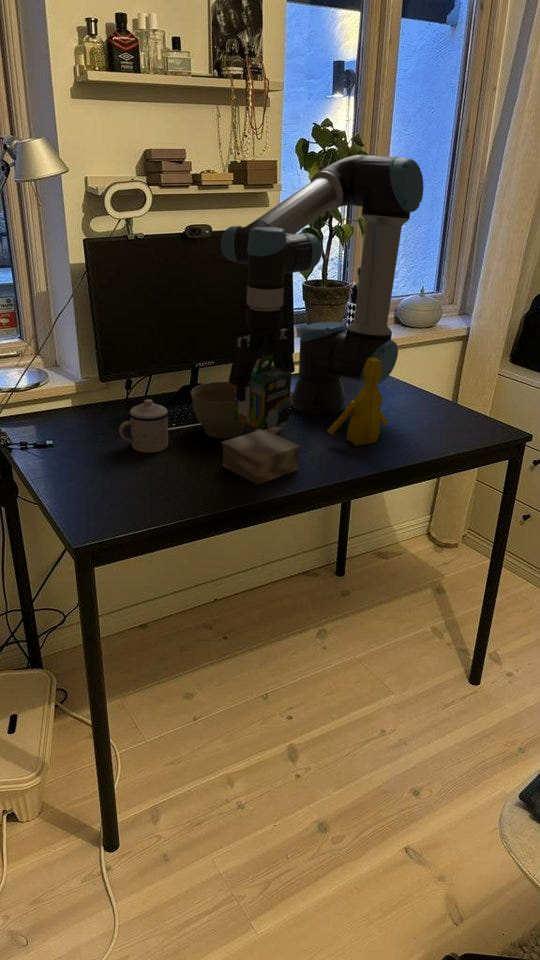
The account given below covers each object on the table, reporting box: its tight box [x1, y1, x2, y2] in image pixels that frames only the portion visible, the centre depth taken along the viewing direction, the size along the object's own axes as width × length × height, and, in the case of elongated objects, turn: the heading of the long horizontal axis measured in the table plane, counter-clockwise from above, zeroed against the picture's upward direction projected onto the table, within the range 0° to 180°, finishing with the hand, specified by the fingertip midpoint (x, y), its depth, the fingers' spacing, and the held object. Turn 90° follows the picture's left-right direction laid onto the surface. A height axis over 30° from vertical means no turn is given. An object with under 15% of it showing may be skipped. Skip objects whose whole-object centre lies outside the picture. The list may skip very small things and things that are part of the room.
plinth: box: [220, 430, 302, 485], centre depth 164 cm, size 13×13×6 cm
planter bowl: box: [190, 381, 248, 439], centre depth 182 cm, size 16×16×11 cm
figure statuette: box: [326, 357, 389, 446], centre depth 177 cm, size 18×8×22 cm, turn 116°
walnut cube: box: [253, 426, 283, 438], centre depth 175 cm, size 5×5×5 cm
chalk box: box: [234, 354, 293, 431], centre depth 157 cm, size 9×9×15 cm
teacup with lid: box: [118, 398, 169, 454], centre depth 172 cm, size 12×9×12 cm
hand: (261, 409), depth 159 cm, fingers closed on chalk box, 9 cm apart
